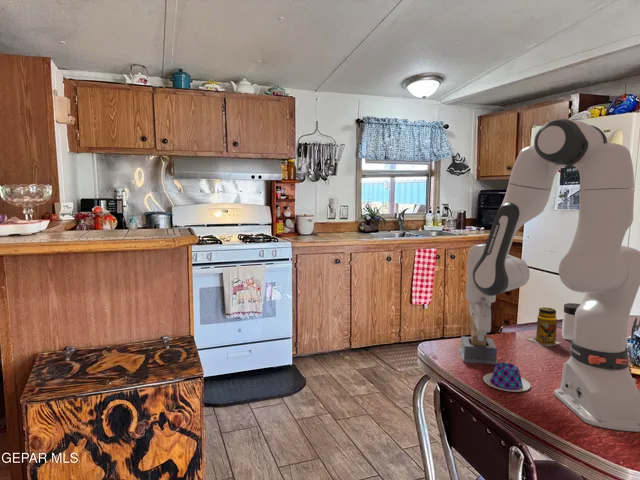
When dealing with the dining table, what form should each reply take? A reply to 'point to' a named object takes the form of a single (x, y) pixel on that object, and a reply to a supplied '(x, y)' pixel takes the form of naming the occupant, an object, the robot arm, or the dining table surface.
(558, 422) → the dining table surface
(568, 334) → the jar
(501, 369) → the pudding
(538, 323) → the condiment
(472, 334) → the wooden peg
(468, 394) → the dining table surface
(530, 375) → the dining table surface
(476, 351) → the socket holder
